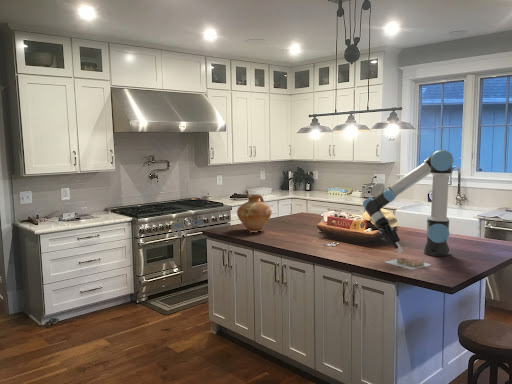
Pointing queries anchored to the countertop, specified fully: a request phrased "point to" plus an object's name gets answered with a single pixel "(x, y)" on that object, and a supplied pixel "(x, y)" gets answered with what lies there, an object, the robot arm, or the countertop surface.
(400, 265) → the mat
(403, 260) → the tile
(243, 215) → the jug
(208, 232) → the countertop surface
